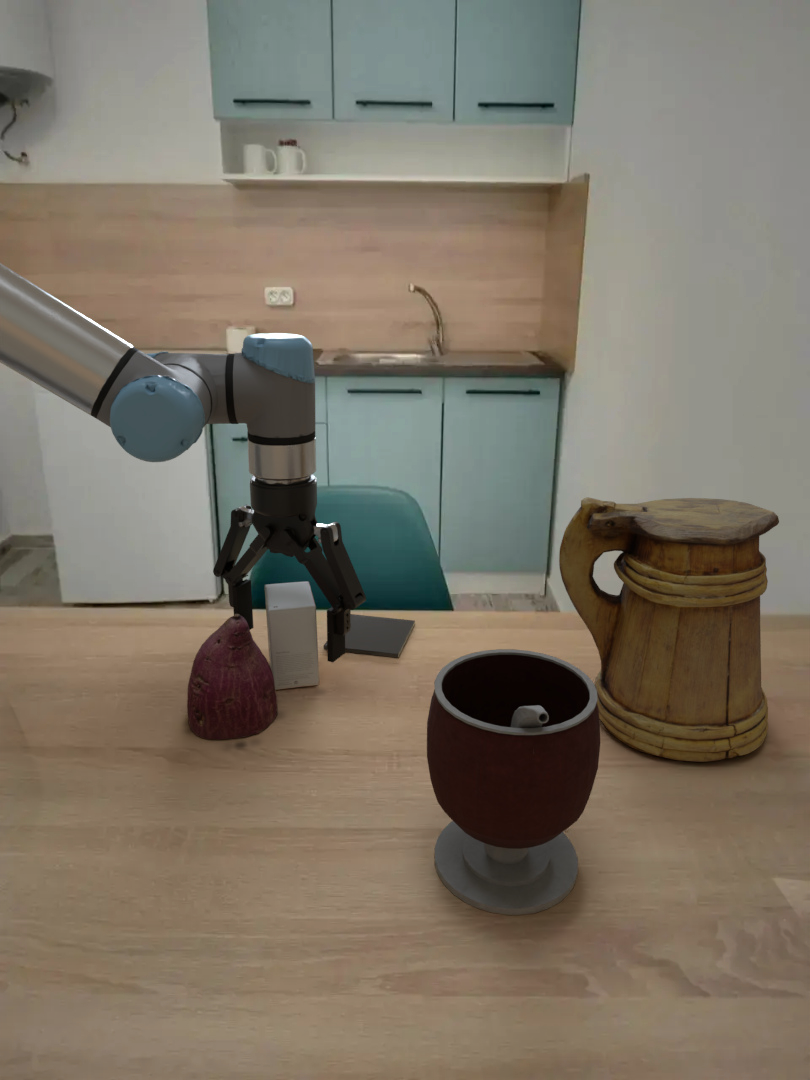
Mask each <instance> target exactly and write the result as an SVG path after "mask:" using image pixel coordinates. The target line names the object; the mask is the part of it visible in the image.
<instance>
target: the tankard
mask: <svg viewBox="0 0 810 1080" xmlns="http://www.w3.org/2000/svg"><path fill="white" fill-rule="evenodd" d="M779 524H780V520H779V516H778V514H776V513H775V511H772V510H769V509H766V508H763V507H760V506H758V505H754V504H751V503H748V502H744V501H738V500H730V499H723V498H703V497H702V498H700V497H684V498H683V497H682V498H662V499H654V500H649V501H644V502H638V503H616V502H615V501H610V500H601V499H597V498H593V497H584V498H582V499H581V501H580V507H579V508H578V510H577V511H576V512H575V514H574V515H573V516H572V518H571V519H570V521H569V522H568V524H567V526H566V527H565V530H564V532H563V536H562V539H561V542H560V545H559V552H558V553H559V554H558V555H559V556H558V559H559V560H558V565H559V573H560V577H561V581H562V584H563V586H564V589H565V591H566V593H567V595H568V598H569V599H570V601H571V603H572V605H573V607H574V609H575V610H576V612H577V614H578V616H579V617H580V619H581V620H582V621H583V623H584V625H585V626H586V628H587V629H588V632H590V635H591V637H592V639H593V642H594V644H595V647H596V648H597V651H598V655H599V659H600V660H599V661H600V671H599V672H598V673H597V675H596V676H595V679H594V685H595V688H596V690H597V704H598V710H599V721H600V722H602V724H603V726H604V728H606V730H607V731H608V732H609V733H610V734H612V736H613V737H615V738H616V739H618V740H619V741H620V742H622V743H623V744H625V745H626V746H628V747H630V748H632V749H634V750H636V751H639V752H641V753H646V754H648V755H653V756H657V757H660V758H665V759H670V760H675V761H681V762H682V761H685V762H696V763H697V762H698V763H699V762H700V763H701V762H714V761H721V760H725V759H733V758H735V757H737V756H738V757H739V756H745V755H748V754H750V753H752V752H754V751H755V750H757V749H758V748H759V747H761V746H762V745H763V743H764V741H765V739H766V737H767V734H768V729H769V706H768V698H767V695H766V693H765V691H764V690H763V687H762V654H761V653H762V652H761V651H762V650H761V648H762V646H761V645H762V644H761V643H762V642H761V596H762V595H764V594H765V592H766V591H767V588H768V583H769V580H768V576H767V571H768V570H767V569H768V568H767V559H766V556H765V555H764V554H763V552H761V551H760V536H763V535H765V534H766V533H768V532H770V531H771V530H772V529H774V528H775V527H776V526H778V525H779ZM610 552H621V553H620V554H619V555H618V556H617V557H616V559H615V560H614V562H613V570H614V572H615V573H616V575H617V577H618V578H619V579H620V581H621V582H622V586H621V589H620V592H619V594H617V595H616V594H611V593H608V592H606V591H605V590H603V589H601V588H600V587H599V585H598V583H597V582H596V580H595V577H594V571H595V563H596V562H597V561H598V560H599V559H600V557H601V556H603V554H604V553H610Z"/></svg>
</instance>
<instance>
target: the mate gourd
mask: <svg viewBox="0 0 810 1080" xmlns="http://www.w3.org/2000/svg"><path fill="white" fill-rule="evenodd" d="M433 684H434V689H433V692H432V696H431V699H430V704H429V710H428V715H427V719H426V720H427V721H426V759H427V765H428V770H429V779H430V782H431V785H432V790H433V792H434V795H435V796H434V797H435V798H436V801H437V803H438V805H439V806H440V808H441V809H442V811H443V812H444V813H445V814H446V815H447V816H448V817H449V818H450V819H451V820H452V821H450V822H449V823H448V824H447V825H446V826H445V827H444V828H442V830H441V832H440V833H439V835H438V837H437V839H436V842H435V847H434V866H435V869H436V872H437V875H438V877H439V879H440V880H441V882H442V884H443V885H444V886H445V888H447V890H448V891H449V892H451V894H452V895H453V896H455V897H456V898H457V899H460V900H461V901H462V902H464V903H466V904H467V905H470V906H471V907H474V908H476V909H478V910H482V911H485V912H488V913H492V914H499V915H505V916H522V915H523V916H524V915H529V914H537V913H539V912H542V911H545V910H549V909H550V908H552V907H554V906H555V905H556V906H557V905H558V904H559V903H561V902H562V901H563V900H564V899H565V898H567V896H569V894H570V893H571V891H572V890H573V889H574V887H575V884H576V882H577V878H578V872H579V859H578V855H577V850H576V848H575V847H574V845H573V843H572V841H571V840H570V839H569V837H568V836H567V835H566V834H565V831H566V830H568V829H569V828H570V827H572V825H574V824H575V823H577V821H578V820H579V818H580V817H581V816H582V815H583V813H584V811H585V809H586V807H587V804H588V802H589V799H590V797H591V793H592V791H593V787H594V783H595V781H596V776H597V773H598V770H599V760H600V753H601V752H600V750H601V725H600V723H601V722H600V719H599V710H598V704H597V690H596V688H595V682H593V681H592V679H591V678H590V677H589V676H588V674H586V673H585V672H584V671H583V670H582V669H580V668H578V667H577V666H575V665H574V664H572V663H570V662H568V661H565V660H563V659H561V658H558V657H556V656H553V655H551V654H546V653H544V652H539V651H538V652H537V651H533V650H526V649H525V650H524V649H515V648H512V649H511V648H498V649H485V650H481V651H477V652H476V651H475V652H471V653H468V654H465V655H462V656H459V657H457V658H455V659H453V660H451V661H449V662H448V663H447V664H445V665H444V666H443V667H442V668H441V669H440V670H439V672H438V673H437V674H436V677H435V680H434V683H433Z"/></svg>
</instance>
